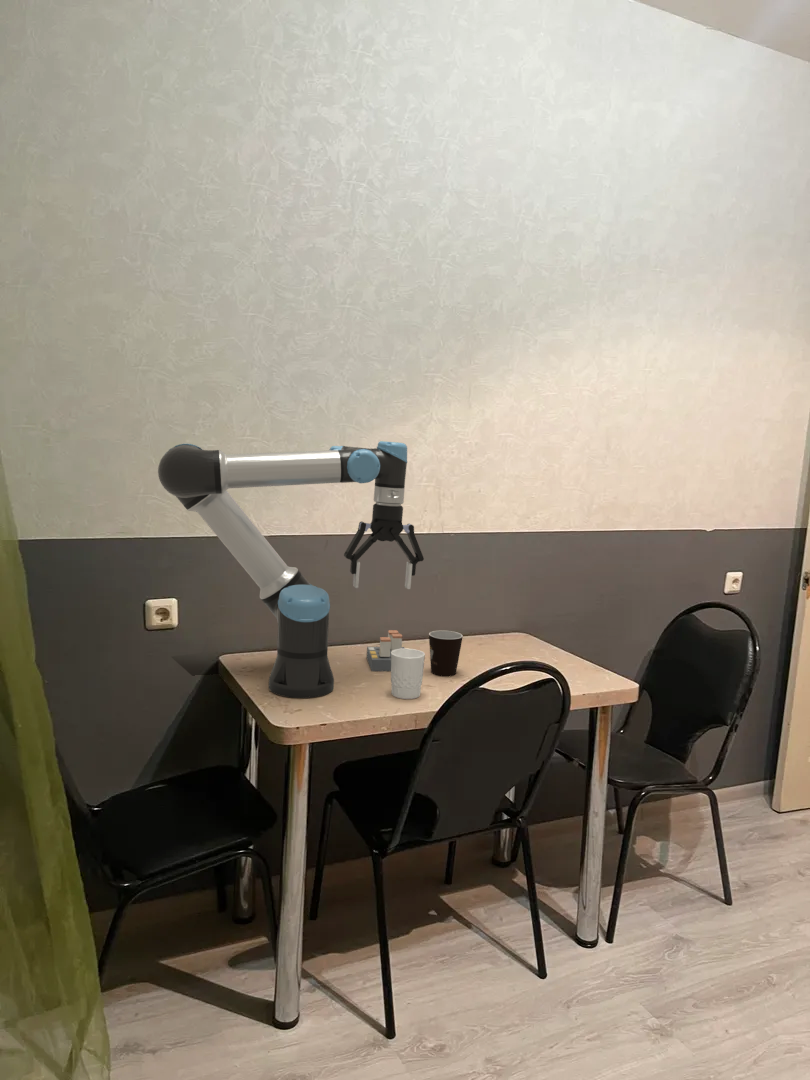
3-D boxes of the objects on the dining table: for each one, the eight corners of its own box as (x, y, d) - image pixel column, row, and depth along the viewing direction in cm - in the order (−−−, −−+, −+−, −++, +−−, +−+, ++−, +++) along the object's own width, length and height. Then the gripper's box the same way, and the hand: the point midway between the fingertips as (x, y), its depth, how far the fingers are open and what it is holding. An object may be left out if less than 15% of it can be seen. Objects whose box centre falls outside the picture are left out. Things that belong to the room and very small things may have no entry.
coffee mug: (457, 679, 202) (460, 640, 200) (423, 675, 204) (426, 637, 202) (463, 666, 213) (466, 629, 212) (431, 663, 215) (433, 626, 213)
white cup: (410, 687, 194) (412, 646, 193) (429, 697, 188) (431, 655, 186) (382, 691, 190) (384, 650, 188) (400, 702, 183) (402, 659, 182)
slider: (388, 649, 213) (389, 632, 213) (387, 646, 216) (388, 630, 215) (397, 649, 214) (398, 632, 213) (396, 646, 216) (397, 630, 216)
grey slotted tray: (371, 671, 205) (372, 658, 205) (366, 657, 217) (367, 645, 216) (410, 671, 207) (411, 659, 206) (403, 657, 218) (404, 646, 218)
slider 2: (392, 653, 210) (392, 636, 209) (390, 650, 213) (391, 633, 212) (401, 653, 211) (402, 636, 210) (400, 650, 213) (401, 633, 212)
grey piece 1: (380, 656, 206) (381, 639, 206) (379, 654, 209) (380, 637, 208) (390, 656, 207) (390, 639, 206) (388, 654, 209) (389, 637, 208)
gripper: (342, 503, 194) (336, 589, 197) (440, 508, 202) (433, 591, 204) (336, 499, 201) (330, 583, 204) (430, 504, 209) (424, 585, 212)
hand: (381, 587), depth 204 cm, fingers open, 13 cm apart
